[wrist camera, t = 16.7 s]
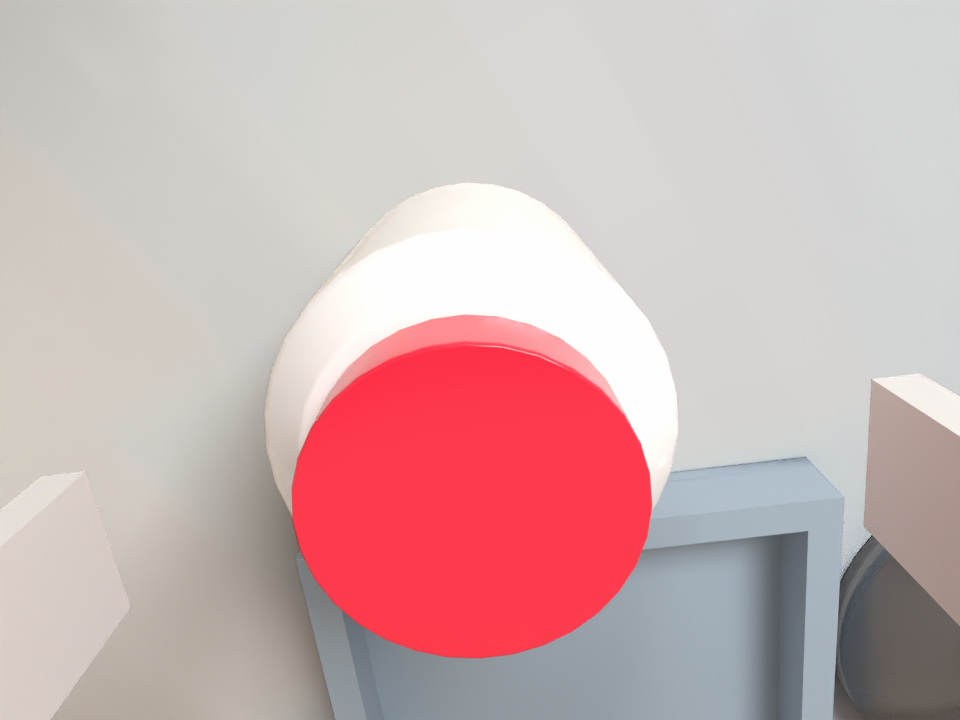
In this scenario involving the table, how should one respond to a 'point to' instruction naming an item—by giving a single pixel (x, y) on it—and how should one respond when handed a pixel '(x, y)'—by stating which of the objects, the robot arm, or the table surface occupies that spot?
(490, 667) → the tray
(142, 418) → the table surface
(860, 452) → the table surface
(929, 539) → the robot arm
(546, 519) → the pill bottle
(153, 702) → the table surface
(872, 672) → the crank base
